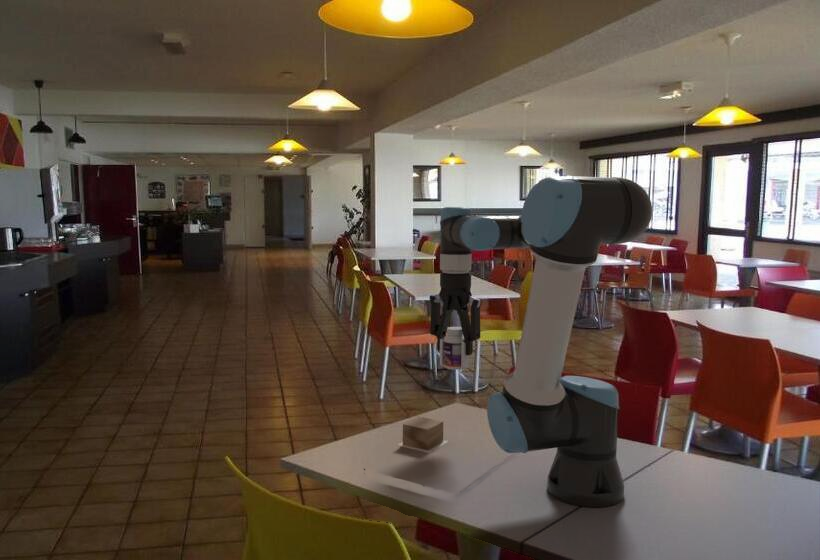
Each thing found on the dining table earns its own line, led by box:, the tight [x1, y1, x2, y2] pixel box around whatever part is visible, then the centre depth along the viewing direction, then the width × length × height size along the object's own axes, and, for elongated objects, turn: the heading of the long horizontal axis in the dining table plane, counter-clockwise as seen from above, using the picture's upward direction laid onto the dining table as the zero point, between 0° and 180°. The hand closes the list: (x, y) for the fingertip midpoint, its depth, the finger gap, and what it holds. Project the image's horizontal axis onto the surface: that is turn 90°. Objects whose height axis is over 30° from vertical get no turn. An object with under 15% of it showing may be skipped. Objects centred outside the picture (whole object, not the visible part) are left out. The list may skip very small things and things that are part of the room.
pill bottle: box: [443, 326, 464, 371], centre depth 163 cm, size 5×5×10 cm
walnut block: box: [402, 416, 444, 451], centre depth 159 cm, size 7×7×5 cm
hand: (454, 365), depth 163 cm, fingers closed on pill bottle, 5 cm apart
